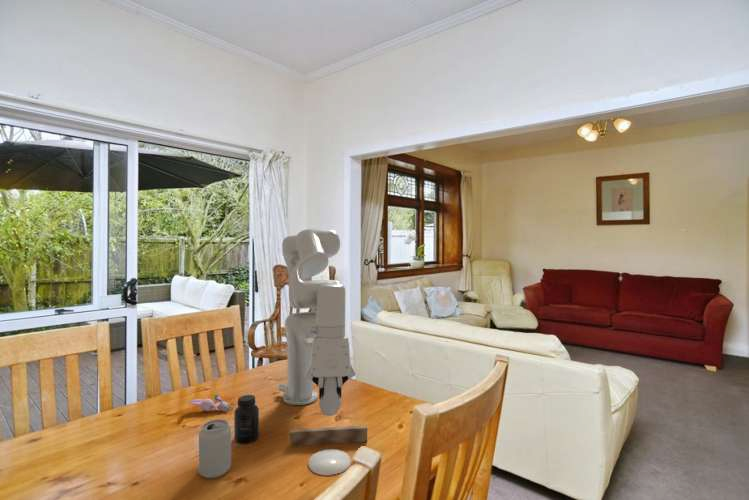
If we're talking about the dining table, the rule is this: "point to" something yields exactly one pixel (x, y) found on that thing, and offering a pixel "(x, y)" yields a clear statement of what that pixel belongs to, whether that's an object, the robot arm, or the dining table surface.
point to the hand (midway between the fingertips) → (330, 400)
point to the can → (214, 448)
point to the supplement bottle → (246, 420)
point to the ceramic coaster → (329, 462)
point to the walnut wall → (328, 435)
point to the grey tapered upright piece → (330, 397)
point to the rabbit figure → (212, 404)
